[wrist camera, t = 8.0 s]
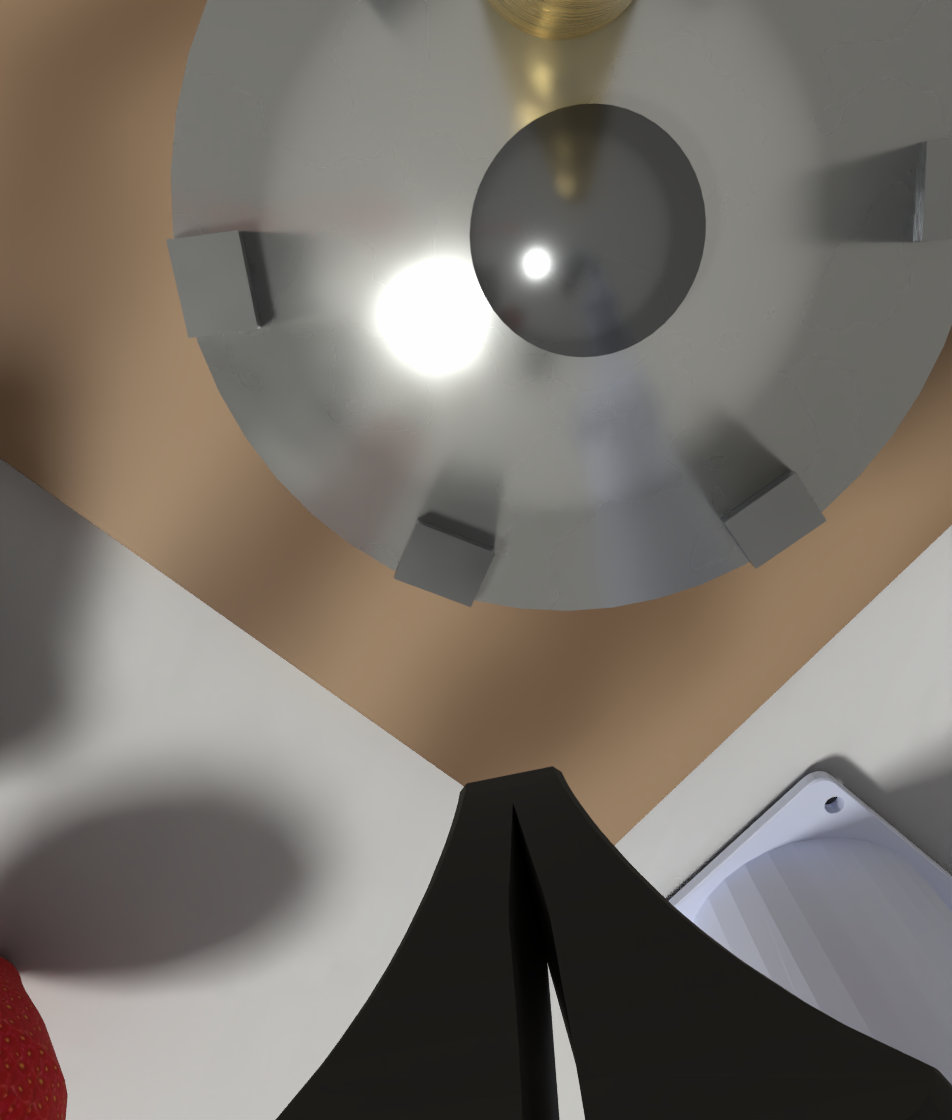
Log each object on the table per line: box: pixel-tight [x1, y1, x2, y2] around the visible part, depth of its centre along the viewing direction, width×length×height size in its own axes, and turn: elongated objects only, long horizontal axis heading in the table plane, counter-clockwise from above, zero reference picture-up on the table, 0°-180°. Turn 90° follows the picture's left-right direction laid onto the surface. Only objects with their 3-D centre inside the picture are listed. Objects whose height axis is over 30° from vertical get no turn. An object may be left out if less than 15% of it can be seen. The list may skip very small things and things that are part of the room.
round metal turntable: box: [166, 0, 952, 611], centre depth 14 cm, size 14×14×7 cm
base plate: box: [0, 0, 952, 845], centre depth 18 cm, size 22×22×1 cm
